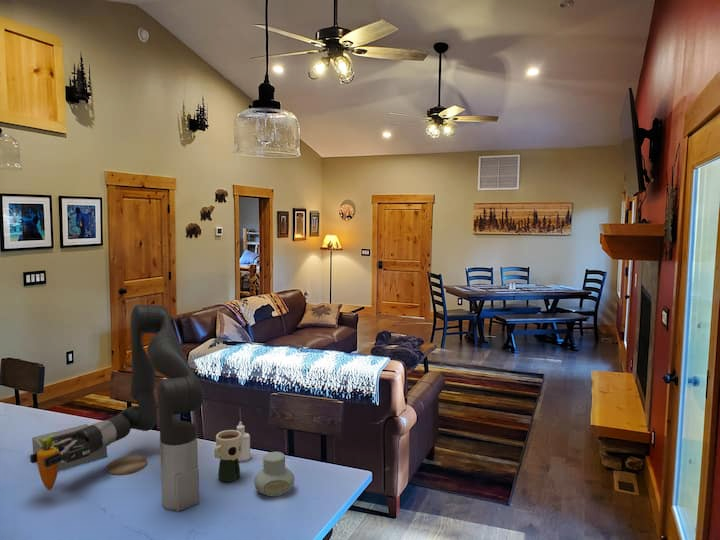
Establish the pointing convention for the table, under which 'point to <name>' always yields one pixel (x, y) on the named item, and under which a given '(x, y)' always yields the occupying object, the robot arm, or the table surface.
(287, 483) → the air freshener
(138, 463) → the walnut pad
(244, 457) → the eye dropper bottle
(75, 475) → the table surface
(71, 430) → the box
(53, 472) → the carrot
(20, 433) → the table surface
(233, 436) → the character mug
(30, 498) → the table surface
